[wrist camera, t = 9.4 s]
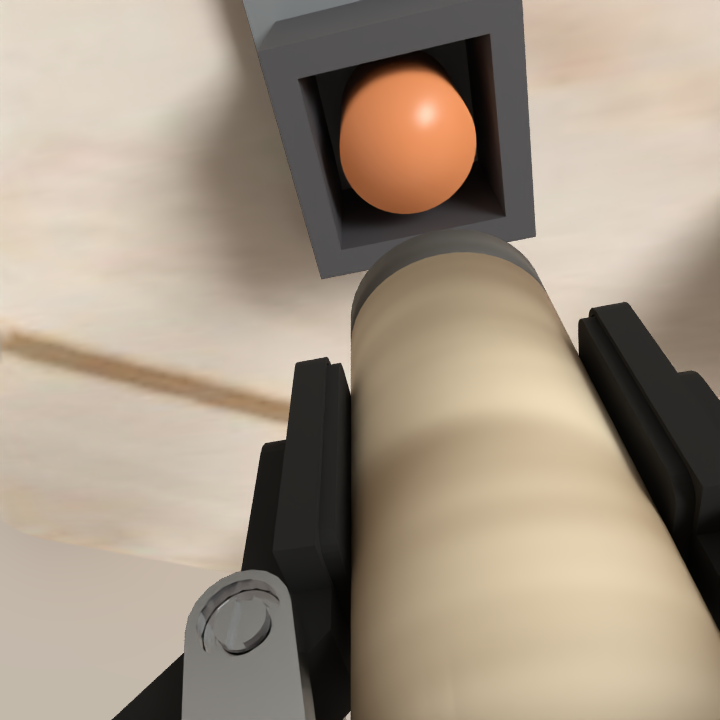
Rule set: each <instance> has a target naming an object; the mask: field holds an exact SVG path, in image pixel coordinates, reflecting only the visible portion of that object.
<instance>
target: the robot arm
mask: <svg viewBox="0 0 720 720" xmlns="http://www.w3.org/2000/svg"><path fill="white" fill-rule="evenodd" d="M578 339H579V357H580V359H581V361H582V363H583V365H584V367H585V369H586V371H587V373H588V375H589V377H590V379H591V381H592V382H593V384H594V386H595V388H596V390H597V392H598V394H599V396H600V398H601V400H602V402H603V404H604V406H605V408H606V410H607V412H608V414H609V416H610V418H611V420H612V422H613V424H614V426H615V428H616V430H617V431H618V433H619V435H620V437H621V439H622V441H623V443H624V445H625V447H626V449H627V451H628V453H629V455H630V457H631V459H632V461H633V463H634V465H635V467H636V469H637V471H638V473H639V475H640V477H641V478H642V480H643V482H644V484H645V486H646V488H647V490H648V492H649V494H650V496H651V498H652V500H653V502H654V504H655V506H656V508H657V510H658V512H659V514H660V516H661V518H662V520H663V522H664V524H665V525H666V527H667V529H668V531H669V533H670V535H671V537H672V539H673V541H674V543H675V545H676V547H677V549H678V551H679V553H680V555H681V557H682V559H683V561H684V563H685V565H686V567H687V569H688V571H689V573H690V574H691V576H692V578H693V580H694V582H695V584H696V586H697V588H698V590H699V592H700V594H701V596H702V598H703V600H704V602H705V604H706V606H707V608H708V610H709V612H710V614H711V616H712V618H713V620H714V621H715V623H716V625H717V627H718V629H719V631H720V400H719V399H718V398H717V396H716V395H715V394H714V392H713V391H712V390H711V388H710V387H709V386H708V384H707V383H706V382H705V380H704V379H703V378H702V377H701V376H700V375H699V374H698V373H697V372H694V371H686V372H680V373H677V371H676V370H675V369H674V367H673V366H672V364H671V363H670V361H669V360H668V359H667V357H666V356H665V354H664V353H663V352H662V350H661V349H660V347H659V346H658V344H657V343H656V342H655V340H654V339H653V337H652V336H651V334H650V333H649V332H648V330H647V329H646V327H645V326H644V325H643V323H642V322H641V320H640V319H639V317H638V316H637V315H636V313H635V312H634V310H633V309H632V308H631V306H630V305H629V304H628V303H627V302H622V303H617V304H611V305H606V306H601V307H595V308H591V309H590V312H589V318H583V319H580V320H579V323H578ZM350 711H351V394H350V391H349V387H348V384H347V380H346V377H345V373H344V370H343V367H342V364H341V363H337V364H332V365H331V363H330V361H329V359H328V358H327V357H324V358H319V359H313V360H308V361H302V362H297V363H296V365H295V371H294V379H293V387H292V395H291V403H290V412H289V420H288V428H287V436H286V440H281V441H276V442H270V443H265V444H264V445H263V447H262V450H261V454H260V460H259V466H258V473H257V479H256V485H255V491H254V497H253V503H252V509H251V515H250V521H249V527H248V533H247V539H246V545H245V551H244V557H243V563H242V569H241V572H236V573H234V574H231V575H229V576H227V577H224V578H222V579H221V580H219V581H218V582H216V583H215V584H214V585H212V586H211V587H210V588H208V589H207V590H206V591H205V592H204V594H203V595H202V596H201V597H200V598H199V599H198V601H197V602H196V603H195V605H194V607H193V609H192V611H191V613H190V615H189V617H188V621H187V625H186V630H185V645H184V653H183V654H182V655H181V656H180V657H179V658H178V659H177V660H176V661H175V662H174V663H172V664H171V665H170V666H169V667H168V668H167V669H166V670H165V671H164V672H163V673H162V674H161V675H160V676H158V677H157V678H156V679H155V680H154V681H153V682H152V683H151V684H150V685H149V686H148V687H147V688H145V689H144V690H143V691H142V692H141V693H140V694H139V695H138V696H137V697H136V698H135V699H134V700H133V701H132V702H130V703H129V704H128V705H127V706H126V707H125V708H124V709H123V710H122V711H121V712H120V713H119V714H117V715H116V716H115V717H114V718H113V719H112V720H346V715H347V714H348V713H349V712H350Z"/></svg>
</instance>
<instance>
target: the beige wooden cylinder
mask: <svg viewBox="0 0 720 720" xmlns="http://www.w3.org/2000/svg"><path fill="white" fill-rule="evenodd" d="M351 720H720V631H719V629H718V627H717V625H716V623H715V621H714V620H713V618H712V616H711V614H710V612H709V610H708V608H707V606H706V604H705V602H704V600H703V598H702V596H701V594H700V592H699V590H698V588H697V586H696V584H695V582H694V580H693V578H692V576H691V574H690V573H689V571H688V569H687V567H686V565H685V563H684V561H683V559H682V557H681V555H680V553H679V551H678V549H677V547H676V545H675V543H674V541H673V539H672V537H671V535H670V533H669V531H668V529H667V527H666V525H665V524H664V522H663V520H662V518H661V516H660V514H659V512H658V510H657V508H656V506H655V504H654V502H653V500H652V498H651V496H650V494H649V492H648V490H647V488H646V486H645V484H644V482H643V480H642V478H641V477H640V475H639V473H638V471H637V469H636V467H635V465H634V463H633V461H632V459H631V457H630V455H629V453H628V451H627V449H626V447H625V445H624V443H623V441H622V439H621V437H620V435H619V433H618V431H617V430H616V428H615V426H614V424H613V422H612V420H611V418H610V416H609V414H608V412H607V410H606V408H605V406H604V404H603V402H602V400H601V398H600V396H599V394H598V392H597V390H596V388H595V386H594V384H593V382H592V381H591V379H590V377H589V375H588V373H587V371H586V369H585V367H584V365H583V363H582V361H581V359H580V357H579V355H578V353H577V351H576V349H575V347H574V345H573V343H572V341H571V339H570V337H569V335H568V334H567V332H566V330H565V328H564V326H563V324H562V322H561V320H560V318H559V316H558V314H557V312H556V310H555V308H554V306H553V304H552V302H551V300H550V298H549V296H548V294H547V292H546V290H545V288H544V287H543V285H542V283H541V281H540V279H539V277H538V275H537V273H536V271H535V269H534V268H533V266H532V265H531V263H530V262H529V261H528V259H527V258H526V257H525V256H524V255H523V254H522V253H521V252H520V251H518V250H517V249H516V248H514V247H513V246H512V245H510V244H509V243H507V242H505V241H503V240H501V239H500V238H497V237H495V236H492V235H489V234H487V233H482V232H478V231H473V230H464V229H446V230H439V231H433V232H429V233H425V234H421V235H418V236H416V237H413V238H411V239H408V240H406V241H404V242H402V243H401V244H399V245H397V246H395V247H394V248H392V249H391V250H389V251H388V252H387V253H385V254H384V255H383V256H382V257H381V258H380V259H379V260H377V261H376V262H375V263H374V264H373V266H372V267H371V268H370V269H369V270H368V272H367V273H366V275H365V276H364V278H363V279H362V281H361V283H360V285H359V287H358V289H357V291H356V294H355V297H354V301H353V304H352V311H351Z"/></svg>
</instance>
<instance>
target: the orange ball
mask: <svg viewBox="0 0 720 720" xmlns="http://www.w3.org/2000/svg"><path fill="white" fill-rule="evenodd" d="M475 153H476V132H475V126H474V123H473V120H472V117H471V115H470V113H469V111H468V109H467V107H466V105H465V103H464V101H463V100H462V98H461V96H460V94H459V93H458V91H457V89H456V87H455V86H454V84H453V82H452V80H451V79H450V77H449V75H448V74H447V72H446V70H445V69H444V68H443V67H442V65H441V64H440V63H439V62H438V61H437V60H435V59H434V58H433V57H431V56H430V55H428V54H427V53H425V52H422V51H420V50H418V51H414V52H409V53H405V54H401V55H397V56H392V57H388V58H384V59H380V60H376V61H371V62H367V63H363V64H360V65H359V66H358V67H357V68H356V69H355V70H354V72H353V73H352V75H351V76H350V78H349V80H348V82H347V84H346V86H345V89H344V92H343V97H342V104H341V124H340V159H341V164H342V168H343V171H344V174H345V176H346V178H347V180H348V182H349V183H350V185H351V187H352V188H353V189H354V190H355V192H356V193H357V194H358V195H359V196H360V197H361V198H362V199H363V200H365V201H366V202H368V203H369V204H371V205H372V206H374V207H376V208H378V209H381V210H384V211H387V212H391V213H398V214H412V213H419V212H423V211H426V210H429V209H431V208H434V207H436V206H438V205H440V204H441V203H443V202H444V201H446V200H447V199H449V198H450V197H451V196H452V195H453V194H454V193H455V192H456V191H457V190H458V189H459V188H460V187H461V185H462V184H463V182H464V181H465V179H466V178H467V176H468V174H469V172H470V170H471V167H472V164H473V162H474V157H475Z"/></svg>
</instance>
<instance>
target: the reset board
mask: <svg viewBox="0 0 720 720" xmlns="http://www.w3.org/2000/svg"><path fill="white" fill-rule="evenodd" d="M243 4H244V7H245V11H246V14H247V18H248V21H249V25H250V28H251V32H252V36H253V39H254V43H255V46H256V50H257V54H258V57H259V61H260V64H261V68H262V71H263V75H264V78H265V82H266V85H267V89H268V93H269V96H270V100H271V103H272V107H273V110H274V114H275V117H276V121H277V124H278V128H279V131H280V135H281V138H282V142H283V145H284V149H285V152H286V156H287V159H288V163H289V167H290V170H291V174H292V177H293V181H294V184H295V188H296V191H297V195H298V198H299V202H300V205H301V209H302V212H303V216H304V219H305V223H306V226H307V230H308V234H309V237H310V241H311V244H312V248H313V251H314V255H315V258H316V262H317V265H318V269H319V272H320V276H321V279H325V278H330V277H335V276H340V275H345V274H350V273H355V272H360V271H365V270H369V269H370V268H371V267H372V266H373V264H374V263H375V262H376V261H377V260H379V259H380V258H381V257H382V256H383V255H384V254H385V253H387V252H388V251H389V250H391V249H392V248H394V247H395V246H397V245H399V244H401V243H402V242H404V241H406V240H408V239H411V238H413V237H416V236H418V235H421V234H425V233H429V232H433V231H439V230H446V229H464V230H473V231H478V232H482V233H487V234H489V235H492V236H495V237H497V238H500V239H501V240H503V241H505V242H511V241H516V240H521V239H526V238H531V237H536V231H535V213H534V196H533V179H532V162H531V145H530V127H529V110H528V93H527V76H526V59H525V41H524V24H523V7H522V0H243ZM418 50H420V51H422V52H425V53H427V54H428V55H430V56H431V57H433V58H434V59H435V60H437V61H438V62H439V63H440V64H441V65H442V67H443V68H444V69H445V70H446V72H447V74H448V75H449V77H450V79H451V80H452V82H453V84H454V86H455V87H456V89H457V91H458V93H459V94H460V96H461V98H462V100H463V101H464V103H465V105H466V107H467V109H468V111H469V113H470V115H471V117H472V120H473V123H474V126H475V132H476V153H475V157H474V162H473V164H472V167H471V170H470V172H469V174H468V176H467V178H466V179H465V181H464V182H463V184H462V185H461V187H460V188H459V189H458V190H457V191H456V192H455V193H454V194H453V195H452V196H451V197H450V198H449V199H447V200H446V201H444V202H443V203H441V204H440V205H438V206H436V207H434V208H431V209H429V210H426V211H423V212H419V213H412V214H398V213H391V212H387V211H384V210H381V209H378V208H376V207H374V206H372V205H371V204H369V203H368V202H366V201H365V200H363V199H362V198H361V197H360V196H359V195H358V194H357V193H356V192H355V190H354V189H353V188H352V187H351V185H350V183H349V182H348V180H347V178H346V176H345V174H344V171H343V168H342V164H341V159H340V124H341V104H342V97H343V92H344V89H345V86H346V84H347V82H348V80H349V78H350V76H351V75H352V73H353V72H354V70H355V69H356V68H357V67H358V66H359V65H360V64H363V63H367V62H371V61H376V60H380V59H384V58H388V57H392V56H397V55H401V54H405V53H409V52H414V51H418Z"/></svg>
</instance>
